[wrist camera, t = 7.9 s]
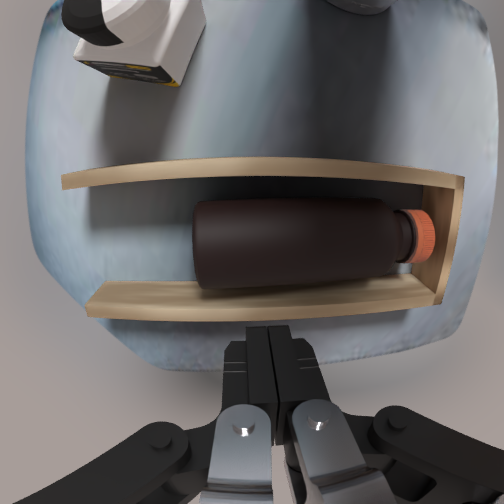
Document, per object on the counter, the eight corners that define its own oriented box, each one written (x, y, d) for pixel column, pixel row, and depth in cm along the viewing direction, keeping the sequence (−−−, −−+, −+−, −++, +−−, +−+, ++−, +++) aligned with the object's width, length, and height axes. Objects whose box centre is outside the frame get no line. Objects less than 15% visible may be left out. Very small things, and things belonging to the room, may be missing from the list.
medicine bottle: (109, 77, 20) (30, 42, 8) (137, 12, 17) (82, -50, 6) (180, 88, 21) (131, 40, 9) (208, 20, 18) (188, -59, 7)
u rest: (90, 169, 22) (61, 175, 18) (433, 170, 24) (464, 176, 19) (108, 291, 27) (87, 316, 22) (416, 282, 28) (441, 304, 23)
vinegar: (188, 237, 17) (452, 228, 19) (195, 185, 22) (412, 186, 24) (200, 308, 21) (423, 287, 23) (203, 250, 27) (394, 241, 28)
